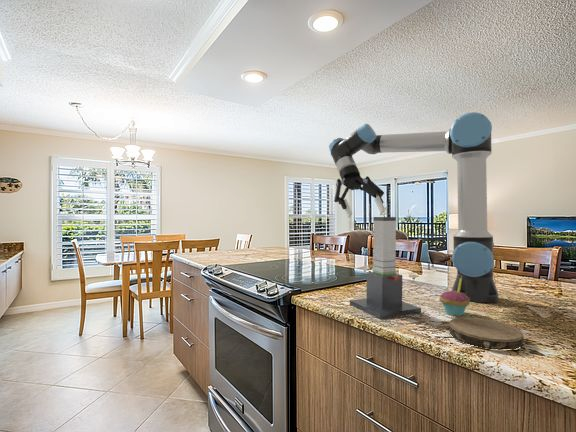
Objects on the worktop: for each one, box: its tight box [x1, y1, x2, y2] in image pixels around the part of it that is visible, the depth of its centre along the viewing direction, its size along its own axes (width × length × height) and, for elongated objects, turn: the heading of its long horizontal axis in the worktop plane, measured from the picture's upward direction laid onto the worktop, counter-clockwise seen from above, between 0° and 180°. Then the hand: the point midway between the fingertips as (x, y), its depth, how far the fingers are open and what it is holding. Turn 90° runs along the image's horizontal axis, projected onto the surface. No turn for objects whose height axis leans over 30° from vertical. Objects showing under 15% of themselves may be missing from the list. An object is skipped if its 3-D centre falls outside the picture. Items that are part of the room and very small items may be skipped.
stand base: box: [349, 271, 422, 320], centre depth 106 cm, size 16×16×12 cm
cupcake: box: [438, 276, 471, 317], centre depth 100 cm, size 9×8×12 cm
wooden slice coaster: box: [449, 316, 524, 349], centre depth 81 cm, size 16×16×3 cm
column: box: [372, 216, 397, 276], centre depth 106 cm, size 5×5×22 cm
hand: (366, 213), depth 119 cm, fingers open, 13 cm apart
